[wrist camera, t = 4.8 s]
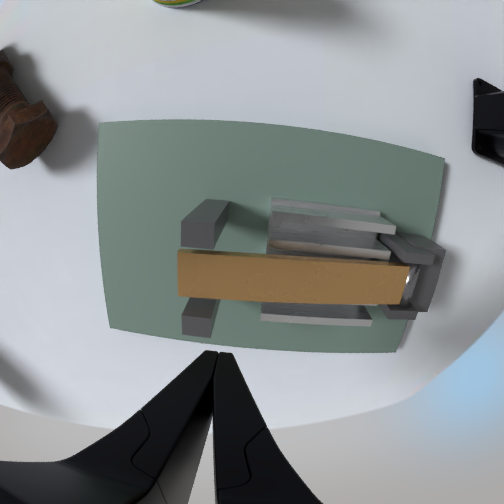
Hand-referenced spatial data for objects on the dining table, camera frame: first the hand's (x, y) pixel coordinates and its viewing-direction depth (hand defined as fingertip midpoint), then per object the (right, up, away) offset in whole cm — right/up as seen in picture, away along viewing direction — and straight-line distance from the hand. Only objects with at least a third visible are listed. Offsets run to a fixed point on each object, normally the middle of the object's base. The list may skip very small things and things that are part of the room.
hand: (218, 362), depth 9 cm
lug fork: (-1, +4, +11) cm, 11 cm away
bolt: (-20, +18, +8) cm, 28 cm away
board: (+2, +4, +12) cm, 12 cm away
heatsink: (+5, +3, +11) cm, 12 cm away
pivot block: (+10, +3, +11) cm, 15 cm away
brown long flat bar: (+4, +2, +7) cm, 8 cm away
